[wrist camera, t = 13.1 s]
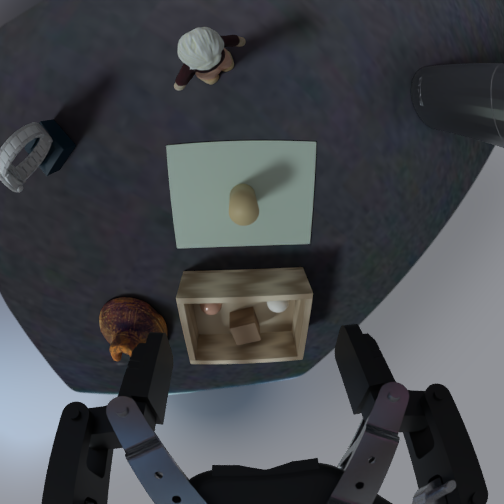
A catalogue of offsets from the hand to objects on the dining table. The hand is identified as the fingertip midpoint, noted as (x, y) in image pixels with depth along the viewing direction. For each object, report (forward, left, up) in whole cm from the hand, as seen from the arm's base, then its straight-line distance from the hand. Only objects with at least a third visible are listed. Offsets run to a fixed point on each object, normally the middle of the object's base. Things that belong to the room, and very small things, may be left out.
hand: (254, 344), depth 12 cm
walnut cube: (0, +18, -22) cm, 29 cm away
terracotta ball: (+5, +14, -22) cm, 27 cm away
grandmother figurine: (+3, -15, -23) cm, 28 cm away
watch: (+24, -9, -23) cm, 35 cm away
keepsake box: (0, +16, -23) cm, 28 cm away
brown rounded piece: (+18, +20, -23) cm, 36 cm away
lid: (0, 0, -24) cm, 24 cm away
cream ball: (-4, +14, -22) cm, 27 cm away
